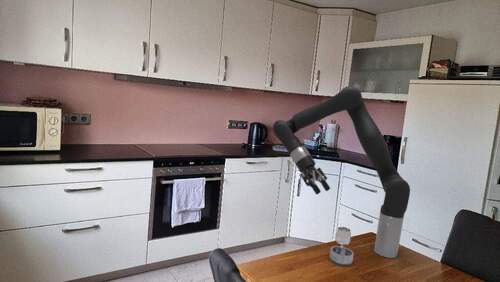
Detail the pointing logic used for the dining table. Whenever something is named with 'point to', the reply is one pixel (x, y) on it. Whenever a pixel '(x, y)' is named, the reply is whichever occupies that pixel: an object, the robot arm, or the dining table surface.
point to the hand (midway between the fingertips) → (323, 191)
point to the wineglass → (343, 237)
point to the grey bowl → (341, 256)
